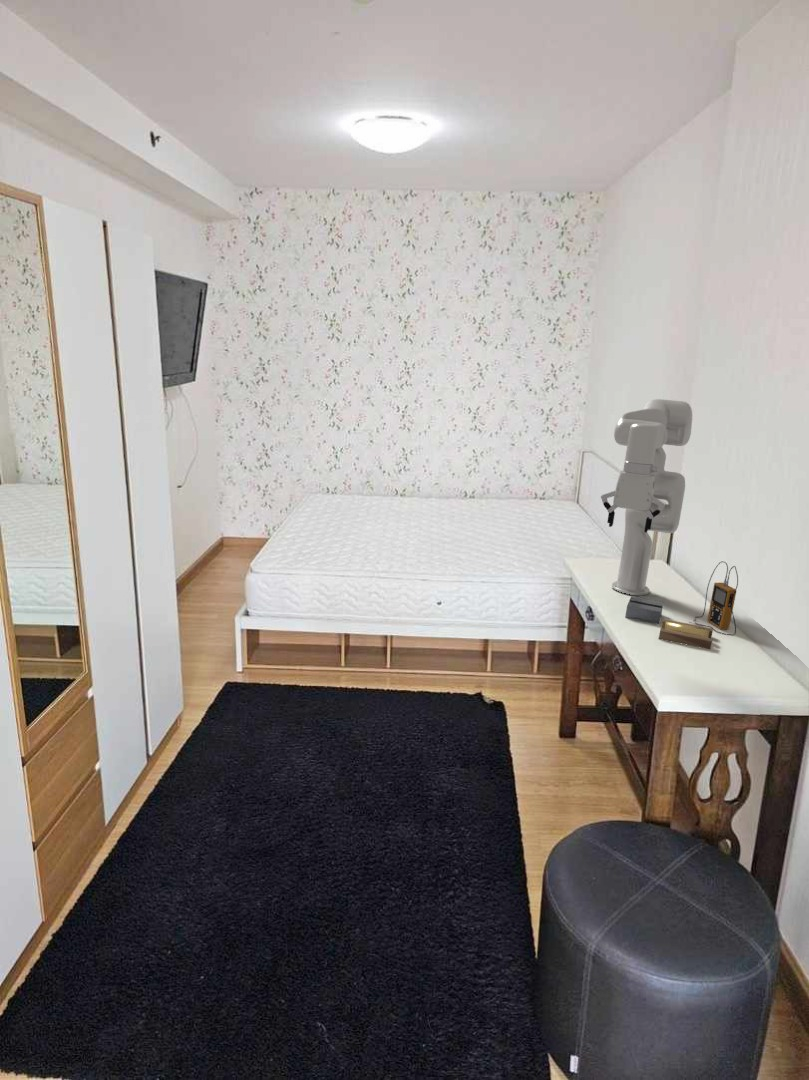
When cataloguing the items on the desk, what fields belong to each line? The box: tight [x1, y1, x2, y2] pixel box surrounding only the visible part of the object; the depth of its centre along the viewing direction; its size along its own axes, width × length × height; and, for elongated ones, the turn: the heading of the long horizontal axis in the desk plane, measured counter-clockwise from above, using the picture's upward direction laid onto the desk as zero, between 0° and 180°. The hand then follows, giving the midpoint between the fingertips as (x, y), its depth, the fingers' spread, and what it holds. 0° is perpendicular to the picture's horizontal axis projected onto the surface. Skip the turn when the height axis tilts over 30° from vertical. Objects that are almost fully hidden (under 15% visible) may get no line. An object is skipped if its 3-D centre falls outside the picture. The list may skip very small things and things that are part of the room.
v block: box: [625, 595, 664, 625], centre depth 227 cm, size 10×10×4 cm
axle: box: [665, 621, 710, 638], centre depth 211 cm, size 12×4×4 cm, turn 66°
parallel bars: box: [658, 618, 714, 651], centre depth 212 cm, size 12×14×2 cm
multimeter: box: [688, 561, 739, 636], centre depth 220 cm, size 15×10×20 cm
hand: (628, 528), depth 204 cm, fingers open, 9 cm apart
